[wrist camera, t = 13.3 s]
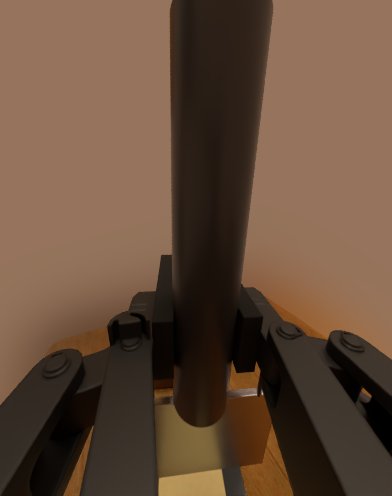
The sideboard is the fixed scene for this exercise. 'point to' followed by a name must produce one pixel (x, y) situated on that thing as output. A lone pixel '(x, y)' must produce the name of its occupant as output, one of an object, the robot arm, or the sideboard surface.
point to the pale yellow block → (193, 484)
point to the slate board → (232, 482)
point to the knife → (212, 231)
